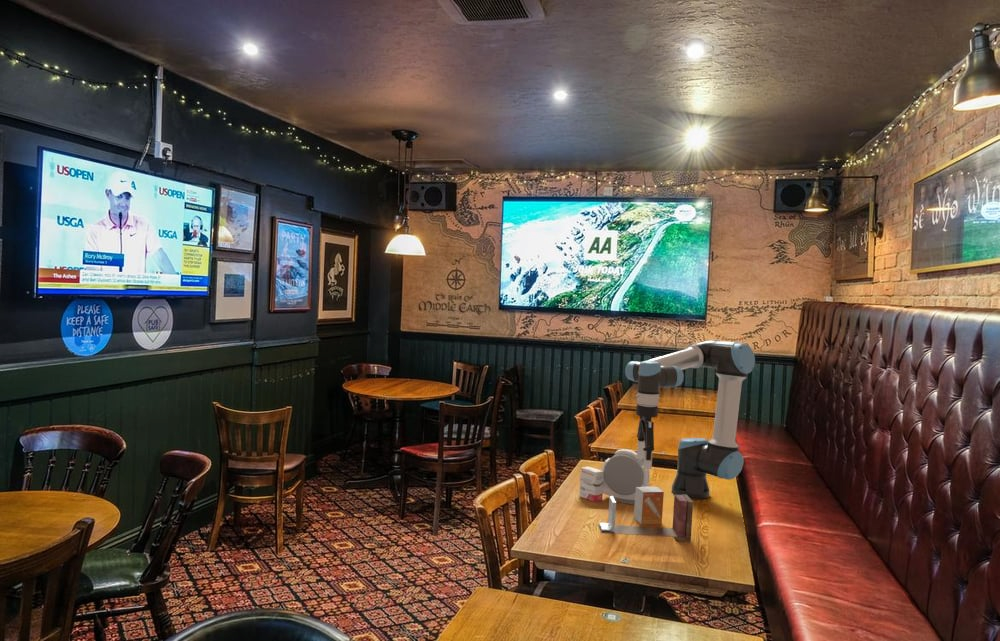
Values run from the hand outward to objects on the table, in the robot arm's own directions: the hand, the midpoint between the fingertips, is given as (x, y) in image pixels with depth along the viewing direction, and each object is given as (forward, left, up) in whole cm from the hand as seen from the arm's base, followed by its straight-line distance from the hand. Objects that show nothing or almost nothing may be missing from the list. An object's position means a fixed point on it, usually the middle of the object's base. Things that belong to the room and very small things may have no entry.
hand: (643, 463), depth 232 cm
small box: (-2, +2, -22) cm, 22 cm away
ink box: (+15, -25, -22) cm, 36 cm away
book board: (+1, +12, -21) cm, 25 cm away
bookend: (+14, +12, -19) cm, 27 cm away
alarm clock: (+2, -24, -22) cm, 32 cm away
